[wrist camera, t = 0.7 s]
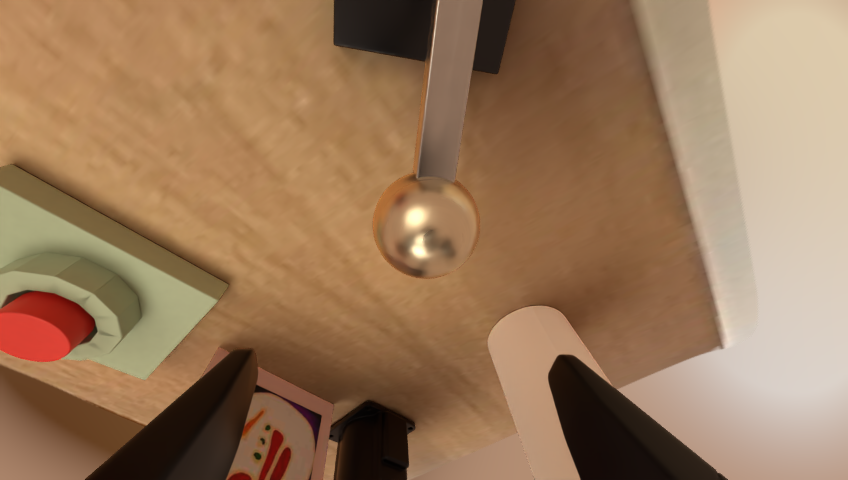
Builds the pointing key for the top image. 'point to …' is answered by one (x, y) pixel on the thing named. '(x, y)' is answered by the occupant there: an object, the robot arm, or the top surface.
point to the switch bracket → (416, 29)
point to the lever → (435, 158)
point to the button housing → (99, 275)
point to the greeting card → (281, 431)
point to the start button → (43, 326)
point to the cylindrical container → (537, 383)
